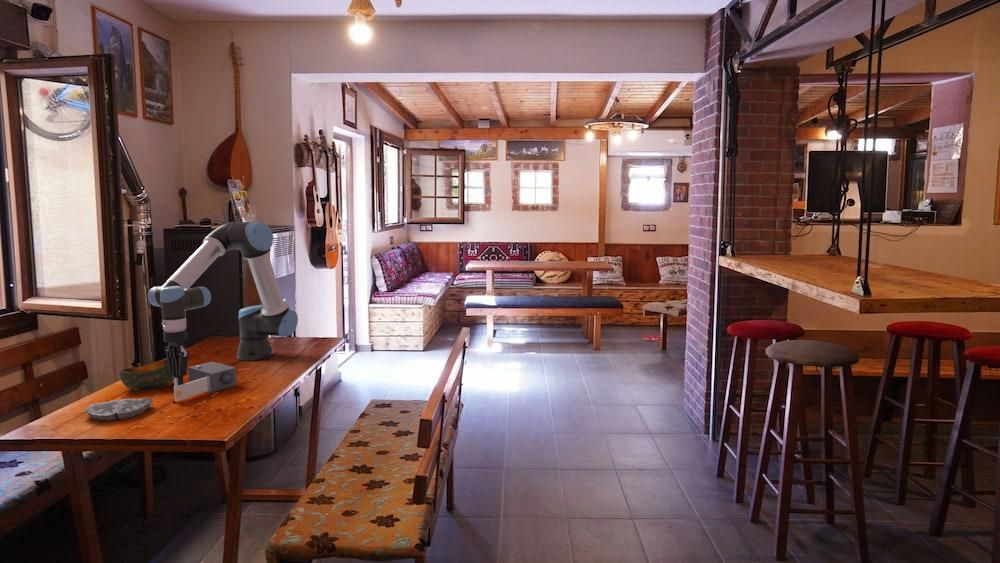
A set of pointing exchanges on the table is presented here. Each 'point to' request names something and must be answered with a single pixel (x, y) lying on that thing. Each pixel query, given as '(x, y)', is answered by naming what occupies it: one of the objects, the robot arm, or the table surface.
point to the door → (192, 388)
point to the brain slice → (118, 409)
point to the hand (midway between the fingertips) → (179, 393)
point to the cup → (147, 376)
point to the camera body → (214, 375)
